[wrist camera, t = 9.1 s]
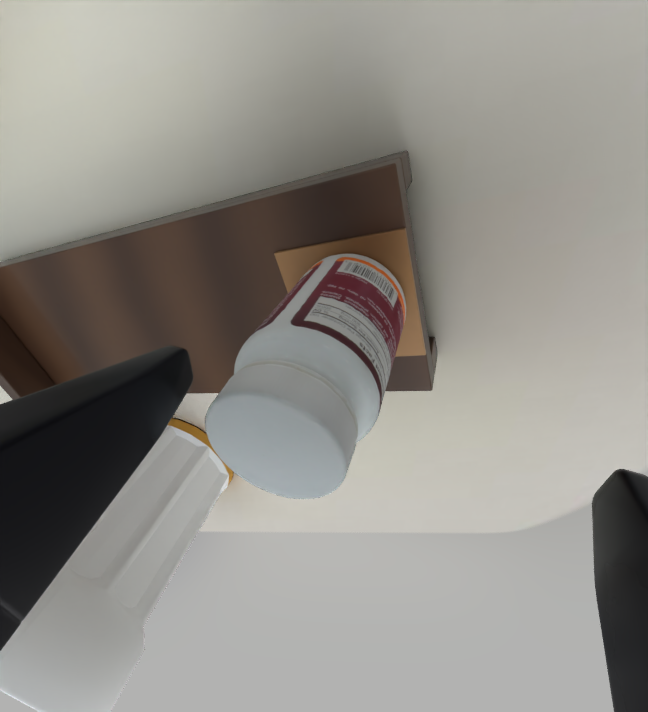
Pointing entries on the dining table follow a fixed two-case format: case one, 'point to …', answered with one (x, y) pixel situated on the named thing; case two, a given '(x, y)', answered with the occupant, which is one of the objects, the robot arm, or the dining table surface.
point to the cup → (114, 581)
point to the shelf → (207, 280)
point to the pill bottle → (311, 379)
